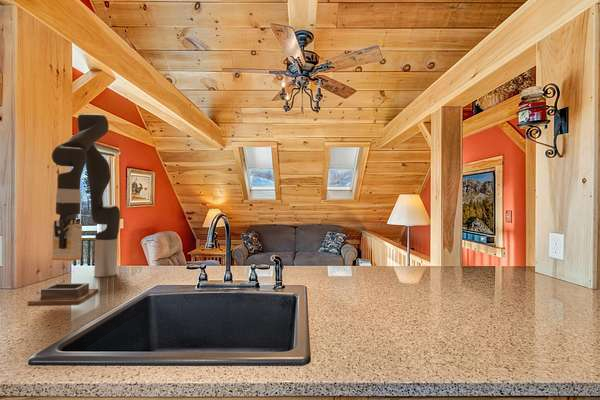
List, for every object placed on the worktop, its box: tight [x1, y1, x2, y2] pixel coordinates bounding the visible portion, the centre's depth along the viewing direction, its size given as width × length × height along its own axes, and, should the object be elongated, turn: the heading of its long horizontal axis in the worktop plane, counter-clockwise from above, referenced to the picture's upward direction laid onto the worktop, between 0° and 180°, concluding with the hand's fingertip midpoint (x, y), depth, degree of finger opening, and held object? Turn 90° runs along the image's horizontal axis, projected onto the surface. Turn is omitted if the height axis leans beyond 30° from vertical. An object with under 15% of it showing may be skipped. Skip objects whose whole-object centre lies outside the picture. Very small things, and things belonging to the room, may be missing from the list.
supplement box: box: [51, 223, 83, 262], centre depth 128 cm, size 8×5×13 cm, turn 84°
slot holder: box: [27, 282, 99, 306], centre depth 128 cm, size 16×16×4 cm
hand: (67, 247), depth 128 cm, fingers closed on supplement box, 5 cm apart
